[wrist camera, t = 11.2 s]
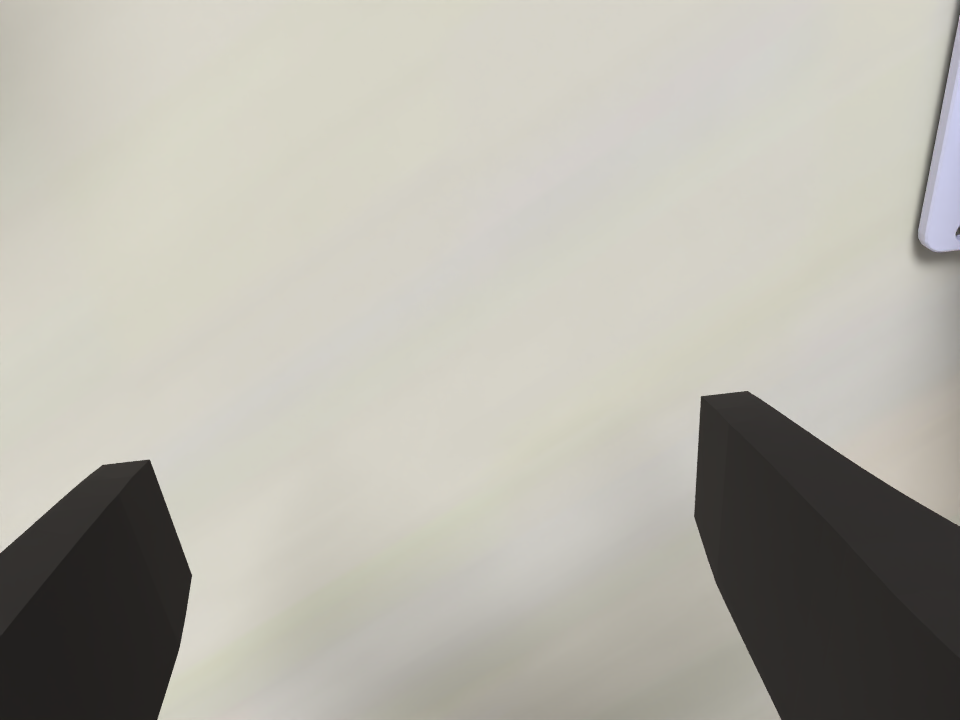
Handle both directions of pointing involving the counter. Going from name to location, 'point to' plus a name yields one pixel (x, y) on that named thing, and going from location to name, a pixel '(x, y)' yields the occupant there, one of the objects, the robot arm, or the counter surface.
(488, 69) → the counter surface
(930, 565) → the robot arm
